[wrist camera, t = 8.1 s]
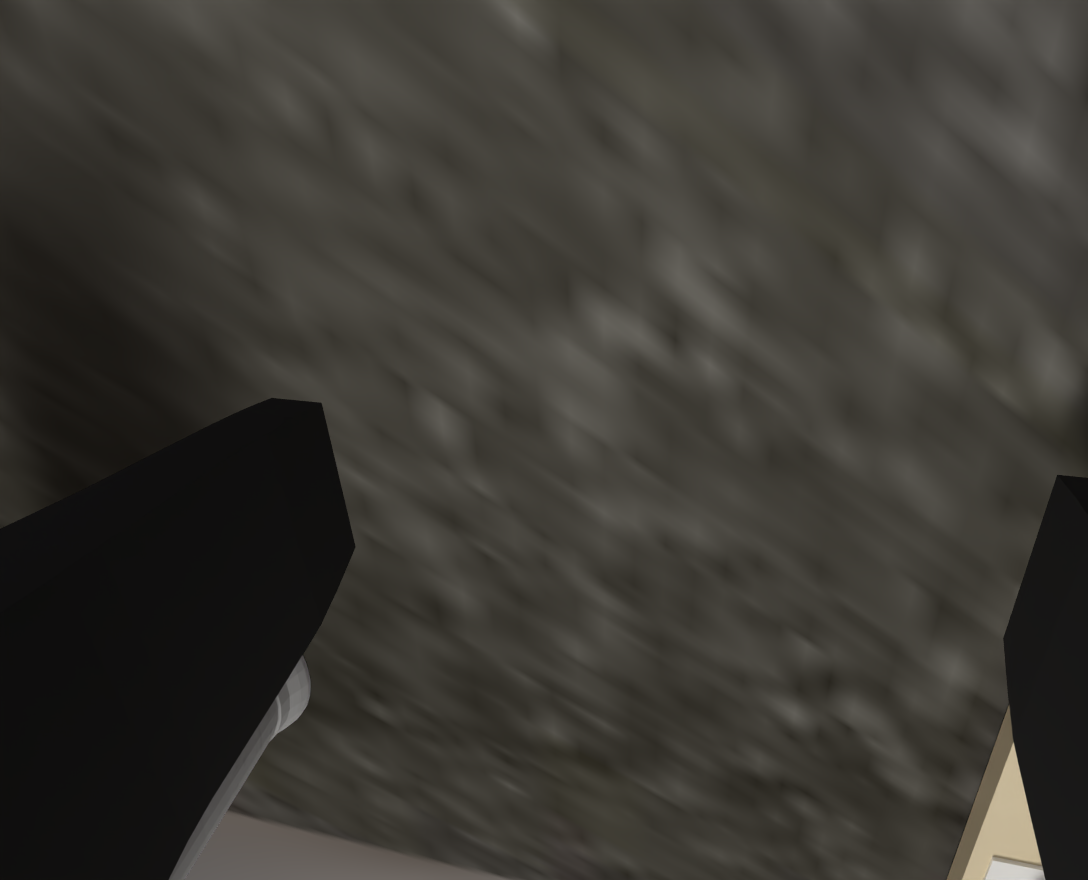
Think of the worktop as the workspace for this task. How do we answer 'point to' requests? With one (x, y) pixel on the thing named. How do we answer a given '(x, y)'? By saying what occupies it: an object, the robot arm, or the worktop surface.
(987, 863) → the board
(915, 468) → the worktop surface
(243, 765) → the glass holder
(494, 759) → the worktop surface
